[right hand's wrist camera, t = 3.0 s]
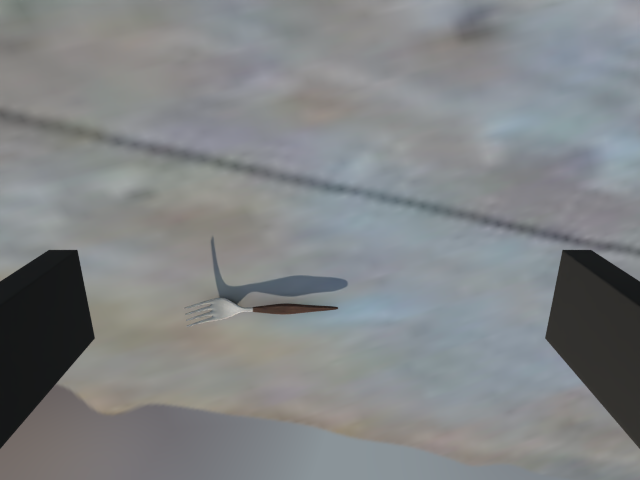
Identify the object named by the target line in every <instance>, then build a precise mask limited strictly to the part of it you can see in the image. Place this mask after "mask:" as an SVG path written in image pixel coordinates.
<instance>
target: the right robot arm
mask: <svg viewBox="0 0 640 480" xmlns="http://www.w3.org/2000/svg"><path fill="white" fill-rule="evenodd" d="M94 338H95V337H94V332H93V327H92V322H91V317H90V312H89V307H88V302H87V297H86V291H85V286H84V281H83V276H82V271H81V266H80V261H79V256H78V251H77V250H48V251H47V252H45V253H44V254H42V255H41V256H39V257H37V258H36V259H34V260H33V261H31V262H30V263H28V264H27V265H25V266H24V267H22V268H20V269H19V270H17V271H16V272H14V273H13V274H11V275H10V276H8V277H7V278H5V279H3V280H2V281H0V448H1V447H2V446H3V445H4V444H5V443H6V441H7V440H8V439H9V438H10V437H11V435H12V434H13V433H14V432H15V431H16V430H17V428H18V427H19V426H20V425H21V424H22V423H23V422H24V420H25V419H26V418H27V417H28V416H29V415H30V413H31V412H32V411H33V410H34V409H35V407H36V406H37V405H38V404H39V403H40V402H41V400H42V399H43V398H44V397H45V396H46V395H47V393H48V392H49V391H50V390H51V389H52V388H53V386H54V385H55V384H56V383H57V382H58V381H59V379H60V378H61V377H62V376H63V375H64V374H65V372H66V371H67V370H68V369H69V368H70V367H71V365H72V364H73V363H74V362H75V361H76V360H77V358H78V357H79V356H80V355H81V354H82V353H83V351H84V350H85V349H86V348H87V347H88V346H89V344H90V343H91V342H92V341H93V340H94ZM545 338H546V340H547V341H548V342H549V343H550V344H551V346H552V347H553V348H554V349H555V350H556V351H557V353H558V354H559V355H560V356H561V357H562V358H563V360H564V361H565V362H566V363H567V364H568V365H569V367H570V368H571V369H572V370H573V371H574V372H575V374H576V375H577V376H578V377H579V378H580V379H581V381H582V382H583V383H584V384H585V385H586V386H587V388H588V389H589V390H590V391H591V392H592V393H593V395H594V396H595V397H596V398H597V399H598V400H599V402H600V403H601V404H602V405H603V406H604V407H605V409H606V410H607V411H608V412H609V413H610V415H611V416H612V417H613V418H614V419H615V420H616V422H617V423H618V424H619V425H620V426H621V427H622V429H623V430H624V431H625V432H626V433H627V434H628V436H629V437H630V438H631V439H632V440H633V441H634V443H635V444H636V445H637V446H638V447H639V448H640V281H638V280H637V279H635V278H633V277H632V276H630V275H629V274H627V273H626V272H624V271H623V270H621V269H620V268H618V267H616V266H615V265H613V264H612V263H610V262H609V261H607V260H606V259H604V258H603V257H601V256H599V255H598V254H596V253H595V252H593V251H592V250H563V251H562V256H561V261H560V266H559V271H558V276H557V281H556V286H555V291H554V297H553V302H552V307H551V312H550V317H549V322H548V327H547V332H546V337H545Z"/></svg>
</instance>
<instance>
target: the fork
mask: <svg viewBox="0 0 640 480" xmlns="http://www.w3.org/2000/svg"><path fill="white" fill-rule="evenodd" d="M204 304H211V305H210V306H208V307H205V308H201V309H198V310H195V311H192V312H189V313H187V314H191V313H195V312H200V311H204V310H212V311H211V312H208V313H205V314H202V315H199V316H196V317H193V318H190V319H187V320H186V321H188V320H192V319H196V318H200V317H204V316H209V315H212V317H211V318H208V319H205V320H202V321H199V322H196V323H193V324H190V325H188V326H187V327H189V326H192V325H196V324H200V323H204V322H209V321H214V320H221V319H225V318H228V317H231V316H233V315H235V314H237V313H240V312H260V313H270V314H296V313H305V312H315V311H326V310H335V309H338V307H332V306H315V305H301V304H275V305H266V306H258V307H249V308H244V307H240V306H238V305H237V304H235V303H233V302H232V301H230V300H228V299H225V298H215V299H211V300H208V301H204V302H201V303H198V304H195V305H192V306H189V307H185V308H184V309H187V308H190V307H195V306H199V305H204ZM187 314H185V315H187Z"/></svg>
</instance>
